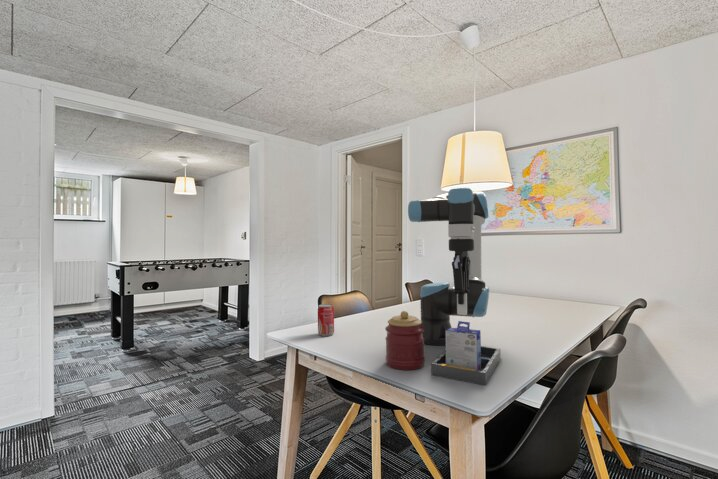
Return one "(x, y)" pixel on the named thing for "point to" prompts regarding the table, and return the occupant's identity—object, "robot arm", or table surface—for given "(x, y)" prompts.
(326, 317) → the soda can
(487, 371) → the tray
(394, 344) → the canister
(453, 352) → the ink cartridge box
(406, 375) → the table surface
